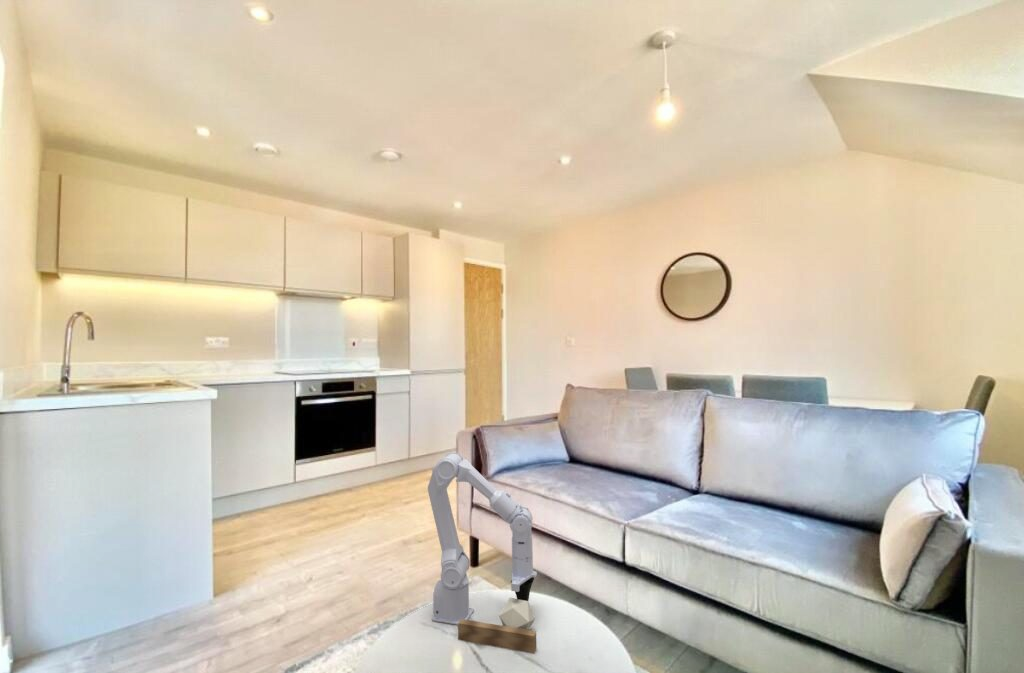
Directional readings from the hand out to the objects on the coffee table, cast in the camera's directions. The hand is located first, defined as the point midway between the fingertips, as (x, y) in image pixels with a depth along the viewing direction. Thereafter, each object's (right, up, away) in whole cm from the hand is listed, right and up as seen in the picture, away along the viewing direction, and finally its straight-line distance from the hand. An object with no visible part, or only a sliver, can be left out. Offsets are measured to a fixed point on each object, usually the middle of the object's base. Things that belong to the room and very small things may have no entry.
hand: (523, 606), depth 119 cm
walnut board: (-7, -3, -11) cm, 13 cm away
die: (-2, -3, -6) cm, 7 cm away
